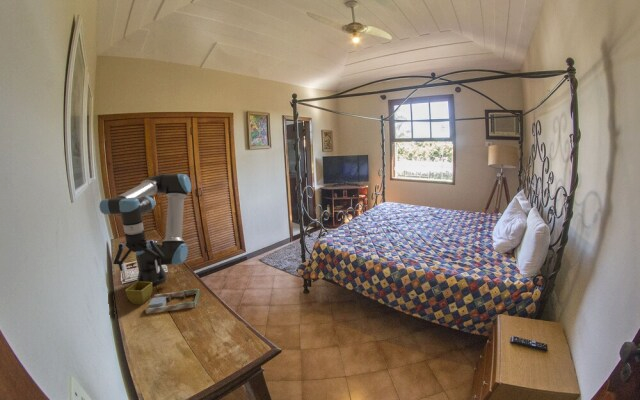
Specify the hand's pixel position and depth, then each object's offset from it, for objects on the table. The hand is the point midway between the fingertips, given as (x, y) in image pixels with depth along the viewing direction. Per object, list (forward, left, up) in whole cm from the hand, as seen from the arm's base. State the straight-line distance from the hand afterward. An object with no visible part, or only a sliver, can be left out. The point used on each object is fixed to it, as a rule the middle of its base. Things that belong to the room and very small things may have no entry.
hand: (142, 274), depth 135 cm
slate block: (-1, +4, -20) cm, 20 cm away
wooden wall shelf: (-1, +11, -20) cm, 23 cm away
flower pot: (-11, -4, -20) cm, 23 cm away
